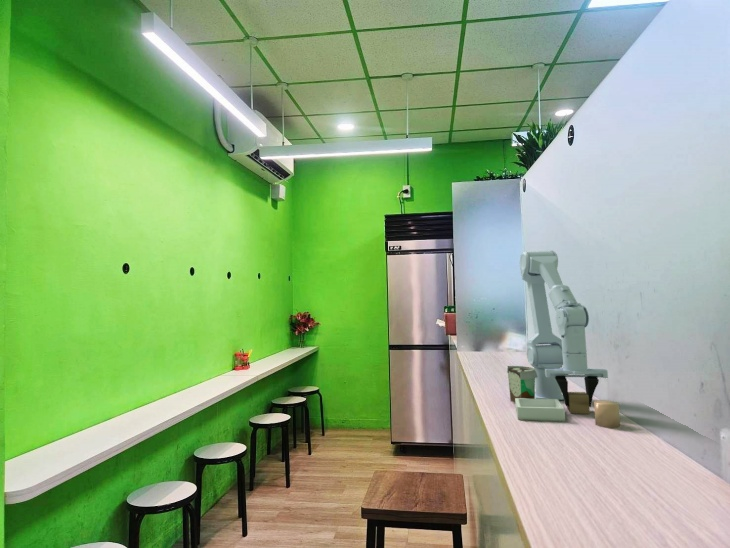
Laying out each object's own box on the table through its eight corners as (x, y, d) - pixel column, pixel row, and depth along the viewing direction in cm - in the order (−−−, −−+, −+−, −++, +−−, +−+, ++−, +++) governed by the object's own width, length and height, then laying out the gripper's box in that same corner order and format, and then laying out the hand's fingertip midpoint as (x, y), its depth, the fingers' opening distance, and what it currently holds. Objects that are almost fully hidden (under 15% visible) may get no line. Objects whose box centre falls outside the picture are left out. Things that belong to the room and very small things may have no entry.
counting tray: (515, 409, 117) (514, 398, 117) (558, 410, 114) (557, 399, 114) (518, 419, 106) (517, 407, 107) (565, 421, 104) (564, 408, 104)
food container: (546, 409, 116) (543, 371, 117) (523, 410, 116) (520, 371, 117) (529, 399, 128) (527, 365, 129) (508, 400, 128) (506, 365, 129)
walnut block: (567, 409, 115) (566, 391, 115) (586, 409, 114) (584, 392, 114) (570, 413, 111) (569, 395, 111) (589, 413, 109) (588, 395, 110)
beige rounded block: (593, 421, 103) (591, 400, 103) (617, 422, 101) (615, 400, 102) (598, 427, 98) (596, 404, 98) (623, 428, 97) (621, 405, 97)
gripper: (546, 354, 111) (549, 408, 110) (609, 354, 108) (613, 410, 107) (543, 351, 118) (546, 402, 117) (602, 351, 114) (606, 403, 113)
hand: (577, 405), depth 112 cm, fingers closed on walnut block, 4 cm apart
